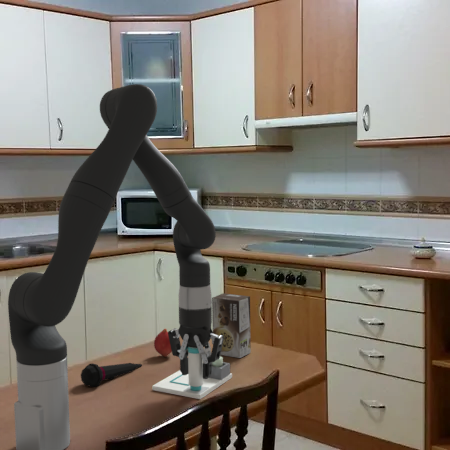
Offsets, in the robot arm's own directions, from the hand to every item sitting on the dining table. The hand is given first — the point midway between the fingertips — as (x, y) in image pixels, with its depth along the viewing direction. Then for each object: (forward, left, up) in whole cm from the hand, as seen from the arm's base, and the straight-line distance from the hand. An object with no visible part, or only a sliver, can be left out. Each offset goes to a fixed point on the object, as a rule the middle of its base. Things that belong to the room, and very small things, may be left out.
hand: (196, 375), depth 148 cm
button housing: (+11, 0, -3) cm, 11 cm away
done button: (+11, 0, -1) cm, 11 cm away
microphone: (0, +24, -5) cm, 24 cm away
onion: (+20, +21, -4) cm, 30 cm away
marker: (0, 0, -3) cm, 3 cm away
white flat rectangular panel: (+6, +4, -4) cm, 8 cm away
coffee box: (+31, +6, -4) cm, 32 cm away
